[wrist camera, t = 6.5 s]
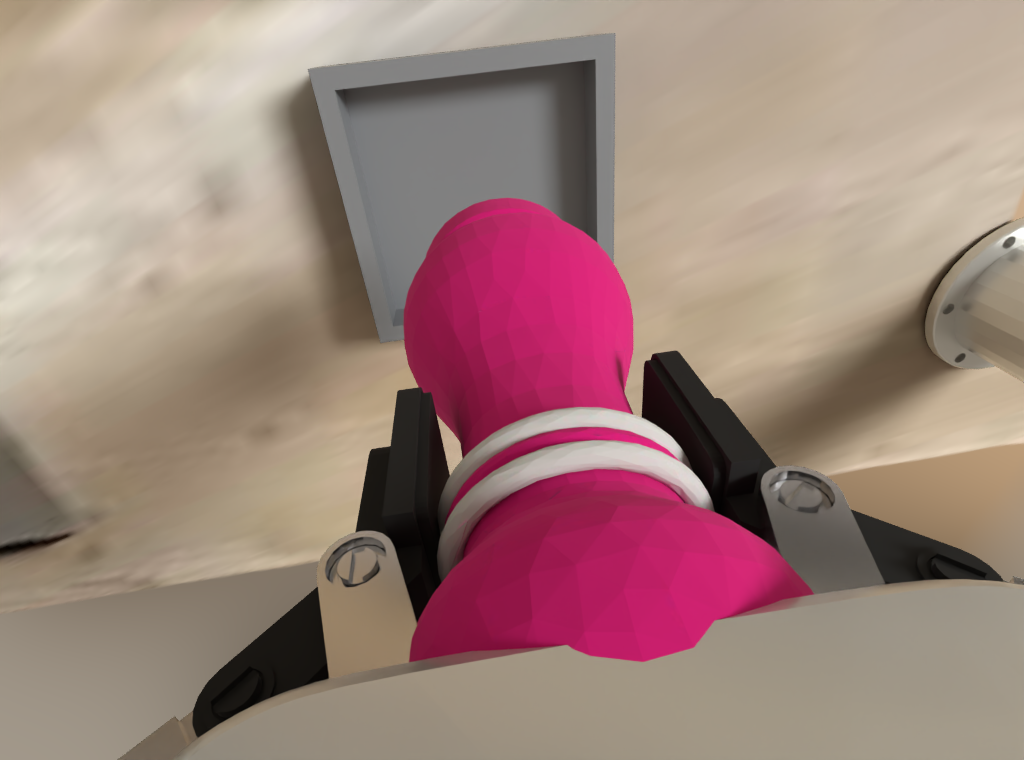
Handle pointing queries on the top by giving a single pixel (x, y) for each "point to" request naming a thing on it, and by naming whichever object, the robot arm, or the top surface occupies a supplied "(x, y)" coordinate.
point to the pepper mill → (560, 458)
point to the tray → (466, 147)
